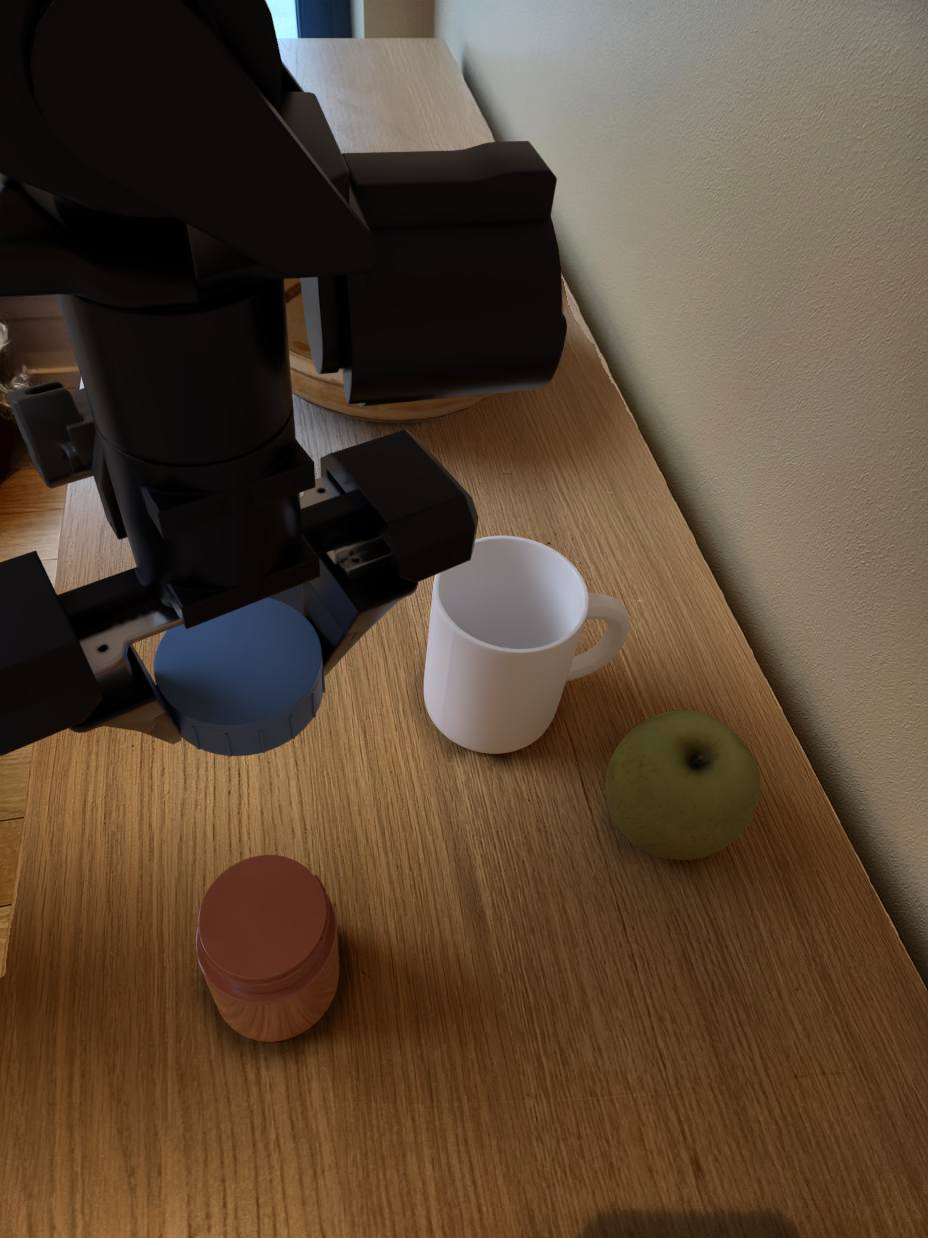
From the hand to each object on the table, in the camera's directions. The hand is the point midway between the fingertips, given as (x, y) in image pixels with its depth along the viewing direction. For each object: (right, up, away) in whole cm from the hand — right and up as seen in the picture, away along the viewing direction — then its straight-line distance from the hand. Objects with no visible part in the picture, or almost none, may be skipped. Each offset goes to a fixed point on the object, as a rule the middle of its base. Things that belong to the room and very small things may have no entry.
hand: (247, 701), depth 37 cm
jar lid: (0, +2, -2) cm, 3 cm away
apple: (+21, -8, +12) cm, 25 cm away
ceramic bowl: (+3, +24, +36) cm, 43 cm away
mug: (+13, -1, +16) cm, 21 cm away
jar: (0, -14, +4) cm, 14 cm away
